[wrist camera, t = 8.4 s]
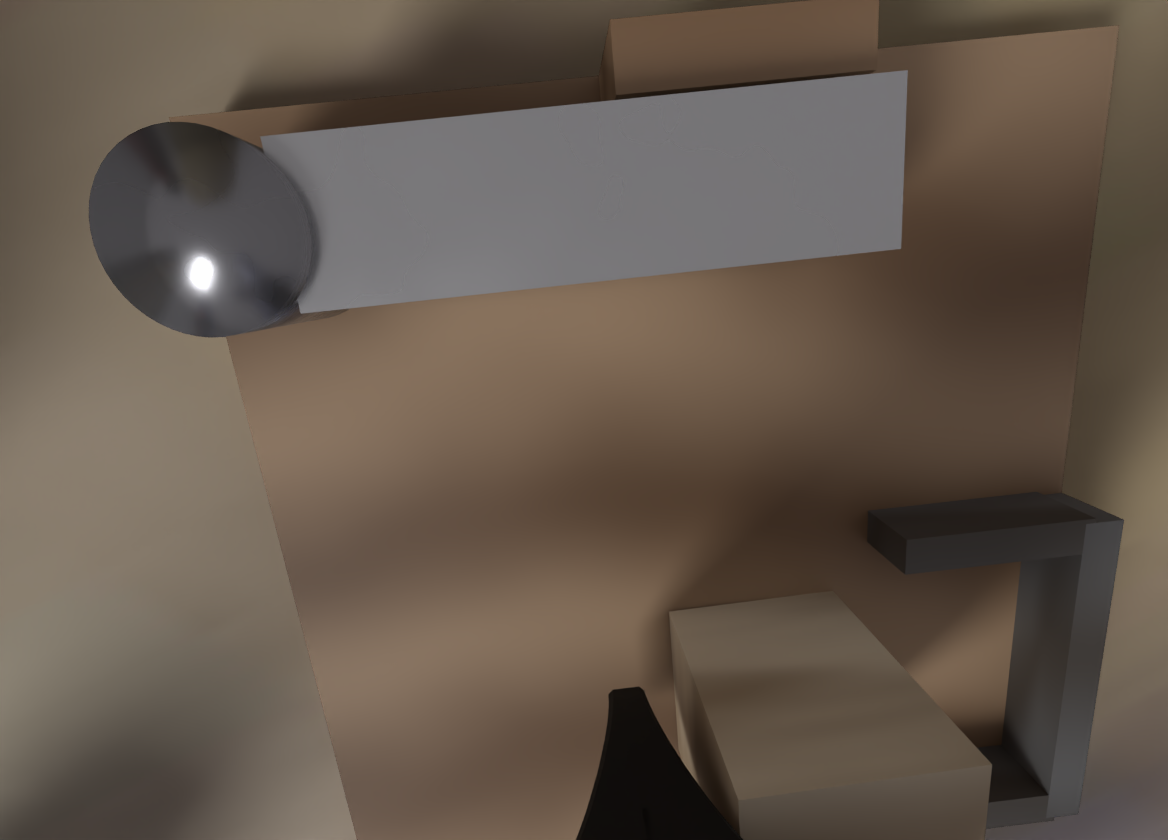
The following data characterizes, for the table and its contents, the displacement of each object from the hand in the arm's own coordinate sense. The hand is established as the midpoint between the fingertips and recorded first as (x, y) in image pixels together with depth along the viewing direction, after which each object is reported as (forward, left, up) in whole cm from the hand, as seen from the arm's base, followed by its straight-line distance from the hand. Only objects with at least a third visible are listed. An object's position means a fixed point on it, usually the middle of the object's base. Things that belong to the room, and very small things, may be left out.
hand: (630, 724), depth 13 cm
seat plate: (+4, -2, -2) cm, 5 cm away
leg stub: (0, -3, -1) cm, 3 cm away
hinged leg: (+11, +1, -1) cm, 11 cm away
